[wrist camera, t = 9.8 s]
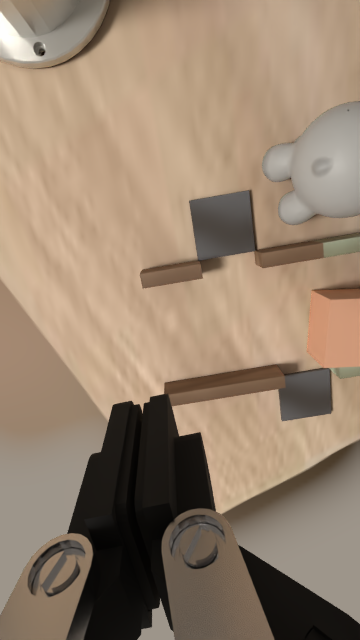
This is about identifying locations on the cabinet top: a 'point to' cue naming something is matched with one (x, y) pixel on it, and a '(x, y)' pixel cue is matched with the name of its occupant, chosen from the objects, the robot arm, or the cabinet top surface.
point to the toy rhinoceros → (320, 167)
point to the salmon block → (335, 328)
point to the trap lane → (237, 237)
